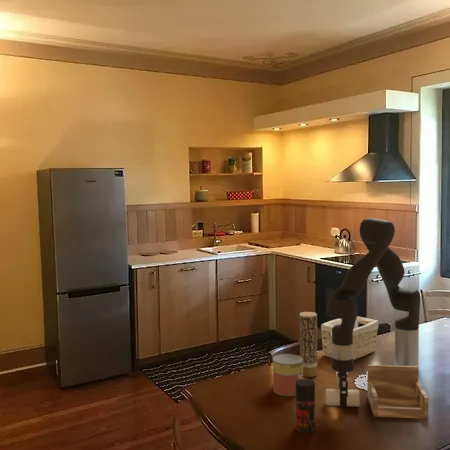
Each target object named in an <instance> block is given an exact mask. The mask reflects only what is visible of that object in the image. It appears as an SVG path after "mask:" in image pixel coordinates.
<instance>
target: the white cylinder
mask: <svg viewBox="0 0 450 450" xmlns="http://www.w3.org/2000/svg"><path fill="white" fill-rule="evenodd" d="M342 393H345V391H342ZM339 394H340V390H339V389H338V388H326V389H325V402H326V406H328V407H329V406H330V407H331V406H333V407H334V406H335V407H340V396H339ZM360 396H361V395H360V390H359V389H348V397H347V407H357V408H358V407H360V403H361V399H360Z"/></svg>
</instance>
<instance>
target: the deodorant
mask: <svg viewBox="0 0 450 450" xmlns="http://www.w3.org/2000/svg"><path fill="white" fill-rule="evenodd" d="M295 426H296V427H295V429H296V430H297V431H298V432H300V433H303V434H304V433H305V434H309V433H313V432H314V431H316V382H315V381H314V380H313V379H309V378H303V379H299V380H297V381H296V396H295Z"/></svg>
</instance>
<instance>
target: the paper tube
mask: <svg viewBox="0 0 450 450" xmlns="http://www.w3.org/2000/svg"><path fill="white" fill-rule="evenodd" d="M299 356H301V357H302V358H303V377H304V378H313V377H317V375H318V314H317V313H316V312H315V311H313V312H312V311H302V312H299Z"/></svg>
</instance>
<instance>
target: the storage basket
mask: <svg viewBox="0 0 450 450" xmlns="http://www.w3.org/2000/svg"><path fill="white" fill-rule="evenodd" d="M341 322H342V319H339V318H336V319H332V320H330V321H327V322H324V323H321V325H320V330H321V331H320V333H321V343H322V354H323V356H324V357H327V358H331V347H332V328H333V326H335V325H339V324H341ZM359 324H363V325H362V326H359ZM378 330H379V320H378V319H373V318H372V319H371V318H368V317H362V316H358V315H357V318H356V322H355V326H354V329H353V349H354V361H355V360H357V359H360V358H362V357H365V356H368V355H369V354H371V353H374V352H375V351H376V345H377V337H378Z"/></svg>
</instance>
